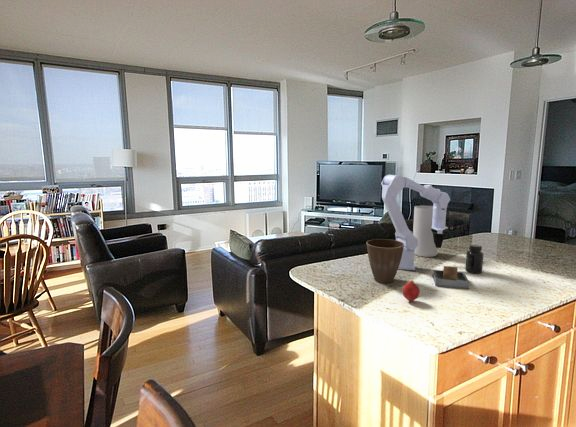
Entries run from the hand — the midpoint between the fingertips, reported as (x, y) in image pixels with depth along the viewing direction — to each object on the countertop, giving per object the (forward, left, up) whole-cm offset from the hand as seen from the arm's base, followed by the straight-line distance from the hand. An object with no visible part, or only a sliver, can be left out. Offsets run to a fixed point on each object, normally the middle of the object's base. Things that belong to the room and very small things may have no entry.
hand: (437, 245), depth 167 cm
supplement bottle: (+15, -6, -10) cm, 19 cm away
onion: (-13, -49, -10) cm, 52 cm away
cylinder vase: (-4, +19, -10) cm, 22 cm away
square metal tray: (+3, -24, -9) cm, 26 cm away
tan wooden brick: (+3, -24, -9) cm, 26 cm away
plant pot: (-23, -29, -10) cm, 38 cm away
